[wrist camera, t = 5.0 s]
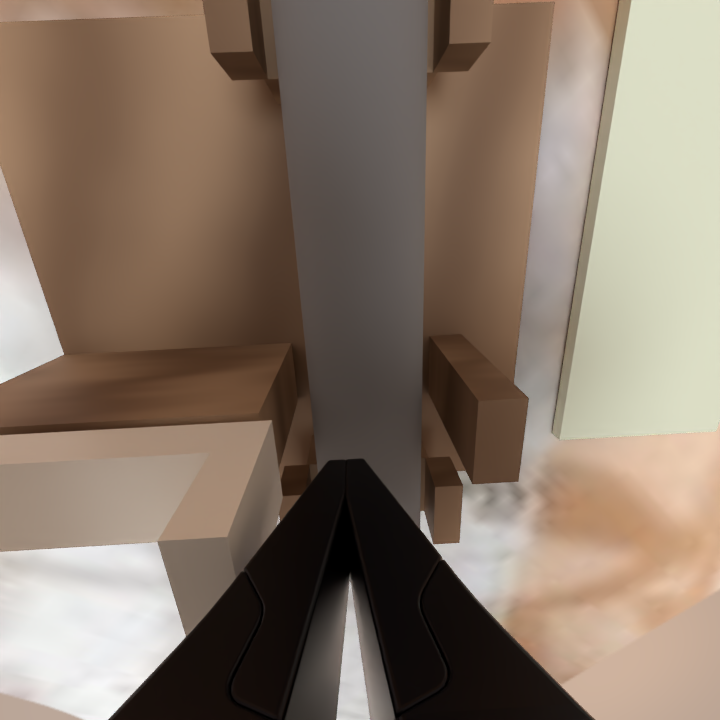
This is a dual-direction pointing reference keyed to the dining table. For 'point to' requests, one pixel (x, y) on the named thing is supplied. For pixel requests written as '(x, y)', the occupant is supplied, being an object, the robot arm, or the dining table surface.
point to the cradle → (258, 231)
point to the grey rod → (359, 223)
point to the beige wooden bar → (148, 498)
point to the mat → (651, 236)
